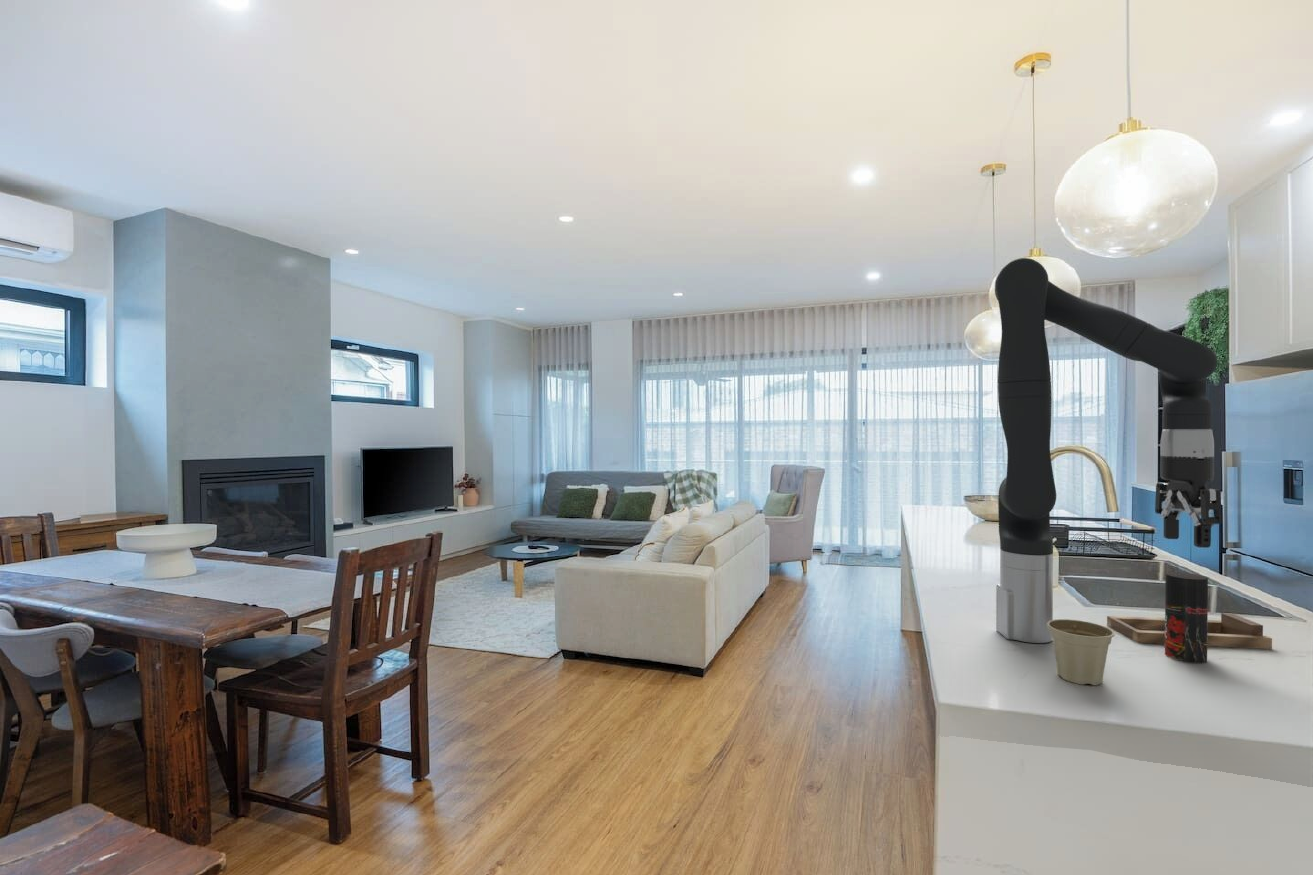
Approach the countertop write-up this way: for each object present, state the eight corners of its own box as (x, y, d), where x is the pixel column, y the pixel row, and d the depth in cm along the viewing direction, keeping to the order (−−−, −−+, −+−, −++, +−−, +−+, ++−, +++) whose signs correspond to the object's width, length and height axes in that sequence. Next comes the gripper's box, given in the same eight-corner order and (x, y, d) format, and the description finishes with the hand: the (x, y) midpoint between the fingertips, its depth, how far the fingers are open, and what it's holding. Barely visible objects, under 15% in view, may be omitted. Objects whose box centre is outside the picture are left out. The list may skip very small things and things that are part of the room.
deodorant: (1215, 664, 112) (1215, 580, 112) (1176, 661, 113) (1177, 578, 113) (1193, 652, 118) (1194, 572, 118) (1157, 650, 119) (1158, 571, 119)
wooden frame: (1137, 642, 124) (1137, 622, 124) (1107, 625, 134) (1107, 606, 134) (1272, 648, 120) (1272, 627, 120) (1229, 630, 131) (1229, 611, 131)
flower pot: (1117, 695, 99) (1117, 640, 99) (1046, 682, 104) (1046, 630, 104) (1112, 675, 107) (1112, 624, 107) (1046, 664, 112) (1047, 616, 112)
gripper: (1140, 452, 123) (1140, 535, 123) (1189, 455, 109) (1189, 549, 109) (1183, 452, 122) (1183, 536, 122) (1239, 455, 107) (1238, 550, 108)
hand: (1186, 542), depth 115 cm, fingers open, 8 cm apart
